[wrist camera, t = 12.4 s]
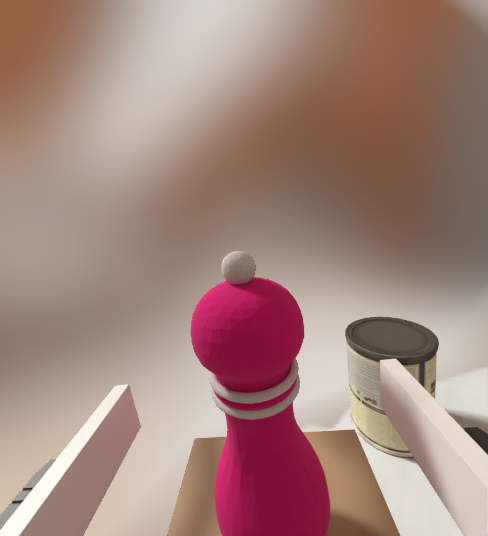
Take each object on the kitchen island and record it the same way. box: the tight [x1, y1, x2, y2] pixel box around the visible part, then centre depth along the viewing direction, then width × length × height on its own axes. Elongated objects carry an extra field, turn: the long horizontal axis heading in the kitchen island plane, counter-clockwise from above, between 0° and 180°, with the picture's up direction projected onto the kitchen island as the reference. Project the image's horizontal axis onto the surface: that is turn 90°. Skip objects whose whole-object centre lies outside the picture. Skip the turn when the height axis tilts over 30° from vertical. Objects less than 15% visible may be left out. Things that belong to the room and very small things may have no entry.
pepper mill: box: [191, 251, 330, 536], centre depth 15 cm, size 7×7×20 cm
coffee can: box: [345, 317, 439, 457], centre depth 33 cm, size 10×10×14 cm
